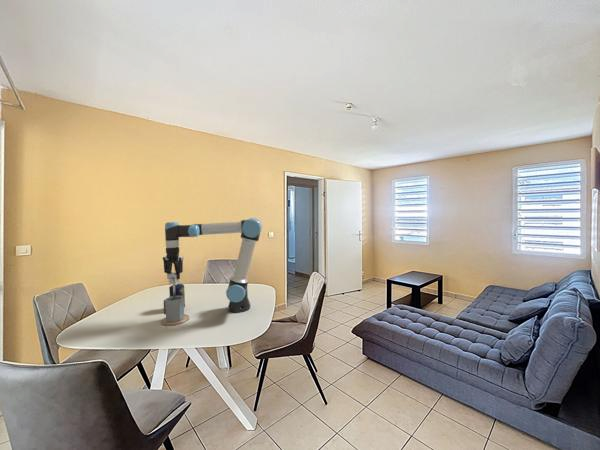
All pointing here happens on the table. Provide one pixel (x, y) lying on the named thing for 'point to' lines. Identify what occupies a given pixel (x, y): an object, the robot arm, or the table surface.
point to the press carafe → (174, 312)
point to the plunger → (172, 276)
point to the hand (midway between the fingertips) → (173, 284)
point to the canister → (178, 291)
